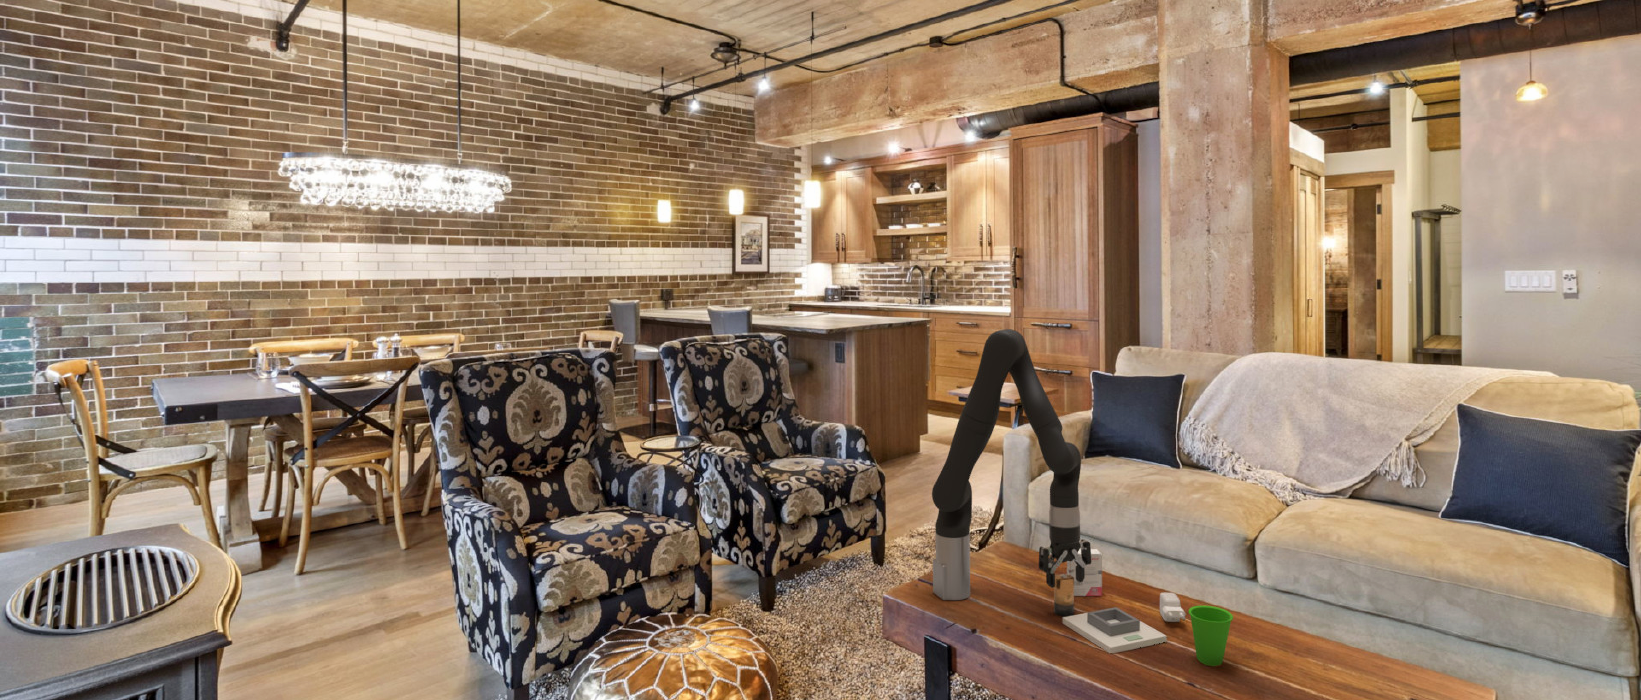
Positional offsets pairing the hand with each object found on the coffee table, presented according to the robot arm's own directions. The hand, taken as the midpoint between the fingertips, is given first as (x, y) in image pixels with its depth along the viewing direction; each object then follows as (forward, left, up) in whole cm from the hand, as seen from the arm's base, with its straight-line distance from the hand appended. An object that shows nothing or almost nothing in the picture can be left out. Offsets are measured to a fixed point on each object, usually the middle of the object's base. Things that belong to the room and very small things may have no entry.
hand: (1065, 583), depth 211 cm
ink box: (+13, +9, -8) cm, 18 cm away
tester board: (+4, -14, -8) cm, 16 cm away
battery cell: (0, 0, -8) cm, 8 cm away
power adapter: (+21, -15, -8) cm, 27 cm away
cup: (+14, -34, -8) cm, 37 cm away
